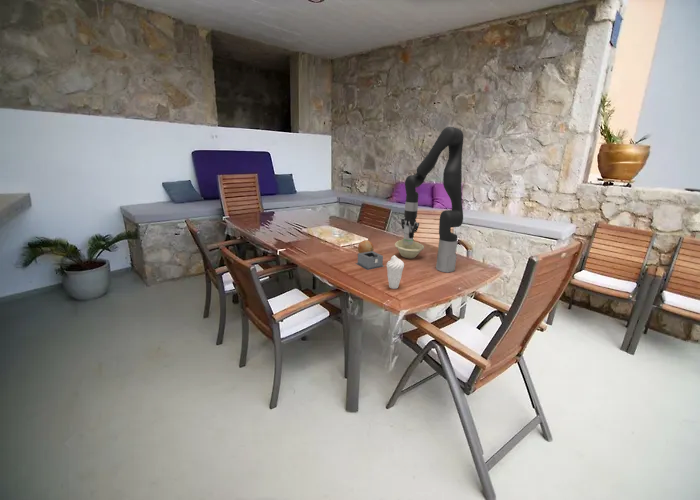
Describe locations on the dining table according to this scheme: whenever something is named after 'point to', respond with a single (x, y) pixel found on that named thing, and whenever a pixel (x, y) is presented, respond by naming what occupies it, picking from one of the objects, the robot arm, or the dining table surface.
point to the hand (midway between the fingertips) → (408, 237)
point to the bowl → (409, 249)
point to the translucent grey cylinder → (407, 236)
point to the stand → (370, 260)
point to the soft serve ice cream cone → (394, 271)
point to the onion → (365, 246)
